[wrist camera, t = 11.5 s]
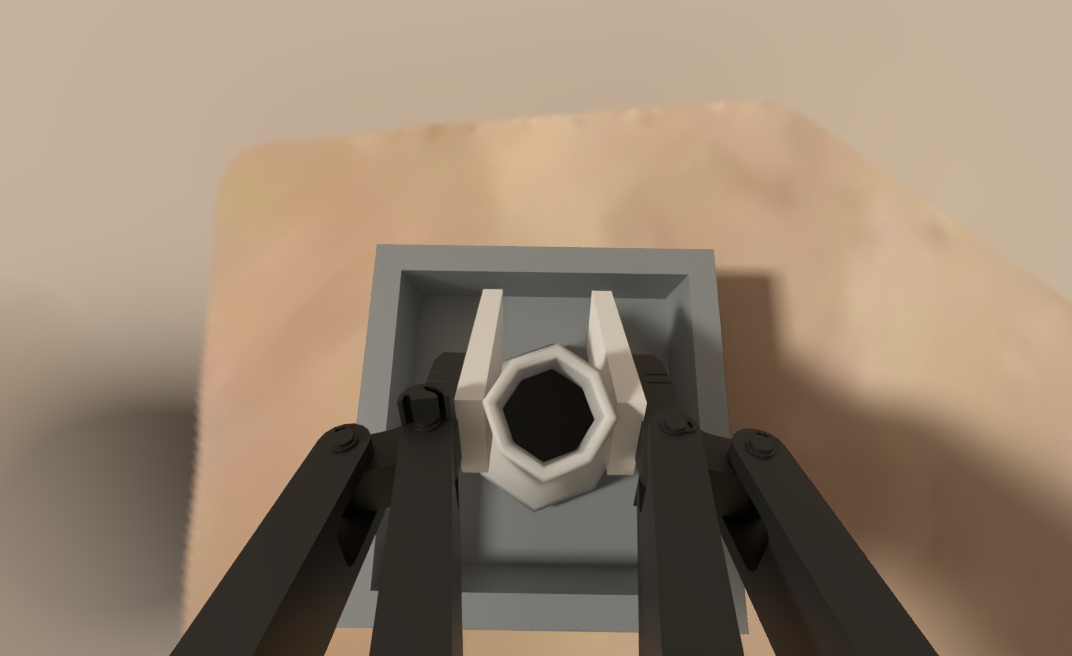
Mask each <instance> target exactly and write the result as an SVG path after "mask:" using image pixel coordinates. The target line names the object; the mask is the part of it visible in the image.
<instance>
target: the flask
mask: <svg viewBox="0 0 1072 656" xmlns="http://www.w3.org/2000/svg"><path fill="white" fill-rule="evenodd" d="M482 403H483V406H484V409H485V412H486V415H487V418H488V421H489V424H490V427H491V430H492V433H493V439H492V447H491V455H490V462H489V470H488V473H480V474H481V475H482V476H483V477H484V478H486V479H487V480H489V481H490V482H491V483H493V484H494V485H496V486H497V487H498V488H500V489H501V490H503V491H504V492H506V493H507V494H508V495H510V496H511V497H513V498H514V499H515V500H517V501H518V502H520V503H521V504H522V505H524V506H525V507H527V508H528V509H530V510H531V511H532V512H536V511H539V510H542V509H544V508H547V507H549V506H552V505H554V504H557V503H560V502H562V501H565V500H567V499H570V498H573V497H575V496H578V495H580V494H583V493H586V492H588V491H591V490H593V489H595V487H596V485H597V483H598V482H599V480H600V478H601V477H602V475H603V473H604V472H605V470H606V464H605V458H604V452H603V445H604V443H605V441H606V440H607V438H608V436H609V435H610V433H611V431H612V430H613V428H614V426H615V425H616V423H617V421H618V420H619V416H618V414H617V411H616V409H615V406H614V404H613V401H612V399H611V396H610V394H609V391H608V389H607V386H606V384H605V381H604V379H603V376H602V374H601V371H600V370H599V369H597V368H596V367H594V366H593V365H591V364H590V363H588V362H586V361H585V360H583V359H582V358H580V357H579V356H577V355H575V354H574V353H572V352H571V351H569V350H568V349H566V348H564V347H563V346H561V345H560V344H558V343H557V344H550V345H547V346H544V347H541V348H538V349H536V350H533V351H530V352H527V353H524V354H521V355H519V356H516V357H513V358H510V359H507V360H504V361H503V363H502V371H501V375H500V376H499V378H498V379H497V381H496V382H495V384H494V385H493V387H492V388H491V390H490V391H489V393H488V394H487V396H486V397H485V398H484V400H483V401H482Z"/></svg>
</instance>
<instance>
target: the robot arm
mask: <svg viewBox="0 0 1072 656" xmlns="http://www.w3.org/2000/svg"><path fill="white" fill-rule="evenodd" d="M587 354H588V360H589V363H590V364H591V365H593V366H594V367H596V368H597V369H599V370H600V371H601V374H602V376H603V379H604V381H605V384H606V386H607V389H608V391H609V394H610V396H611V399H612V401H613V404H614V406H615V409H616V411H617V414H618V416H619V420H618V421H617V423H616V425H615V426H614V428H613V430H612V431H611V433H610V435H609V436H608V438H607V440H606V441H605V443H604V445H603V452H604V458H605V464H606V470H607V475H633V474H634V469H635V464H636V466H637V470H638V474H639V478H638V483H637V488H636V493H635V498H634V504H633V506H637V552H638V620H639V656H744V652H743V647H742V642H741V637H740V632H739V626H738V621H737V616H736V611H735V606H734V601H733V596H732V590H731V585H730V580H729V575H728V570H727V565H726V560H725V554H724V549H723V544H722V539H721V536H722V538H723V541H724V543H725V545H726V547H727V549H728V552H729V554H730V556H731V558H732V560H733V562H734V565H735V567H736V569H737V571H738V573H739V576H740V578H741V580H742V582H743V584H744V587H745V589H746V591H747V593H748V595H749V598H750V600H751V602H752V604H753V606H754V609H755V611H756V613H757V615H758V617H759V620H760V622H761V624H762V626H763V628H764V631H765V633H766V635H767V637H768V639H769V642H770V644H771V646H772V648H773V650H774V653H775V655H776V656H939V655H938V654H937V653H936V651H935V650H934V648H933V647H932V646H931V644H930V643H929V642H928V640H927V639H926V638H925V636H924V635H923V633H922V632H921V631H920V629H919V628H918V627H917V625H916V624H915V623H914V621H913V620H912V618H911V617H910V616H909V614H908V613H907V612H906V610H905V609H904V608H903V606H902V605H901V603H900V602H899V601H898V599H897V598H896V597H895V595H894V594H893V593H892V591H891V590H890V588H889V587H888V586H887V584H886V583H885V582H884V580H883V579H882V578H881V576H880V575H879V573H878V572H877V571H876V569H875V568H874V567H873V565H872V564H871V563H870V561H869V560H868V558H867V557H866V556H865V554H864V553H863V552H862V550H861V549H860V548H859V546H858V545H857V543H856V542H855V541H854V539H853V538H852V537H851V535H850V534H849V533H848V531H847V530H846V528H845V527H844V526H843V524H842V523H841V522H840V520H839V519H838V518H837V516H836V515H835V513H834V512H833V511H832V509H831V508H830V507H829V505H828V504H827V503H826V501H825V500H824V498H823V497H822V496H821V494H820V493H819V492H818V490H817V489H816V488H815V486H814V485H813V483H812V482H811V481H810V479H809V478H808V477H807V475H806V474H805V473H804V471H803V470H802V468H801V467H800V466H799V464H798V463H797V462H796V460H795V459H794V457H793V456H792V455H791V453H790V452H789V451H788V449H787V448H786V447H785V445H784V444H783V443H782V442H781V441H780V440H779V439H777V438H775V437H774V436H772V435H771V434H769V433H766V432H763V431H760V430H757V429H743V430H739V431H738V432H736V433H735V434H734V435H733V438H732V439H728V438H724V437H720V436H716V435H713V434H709V433H706V432H704V431H702V430H700V428H699V426H698V424H697V422H696V421H694V420H693V419H692V418H691V417H690V416H688V415H686V414H684V413H683V410H682V408H681V405H680V403H679V401H678V398H677V396H676V393H675V391H674V388H673V386H672V384H671V381H670V379H669V376H667V372H666V369H665V367H664V364H663V363H662V362H661V361H660V360H659V359H658V358H656V357H655V356H654V355H645V354H631V351H630V348H629V345H628V342H627V339H626V336H625V332H624V329H623V326H622V323H621V320H620V317H619V314H618V310H617V307H616V304H615V301H614V298H613V295H612V291H592V295H591V306H590V318H589V329H588V341H587ZM503 355H504V315H503V289H483V292H482V296H481V299H480V303H479V307H478V311H477V315H476V318H475V322H474V326H473V330H472V334H471V337H470V341H469V345H468V349H467V353H453V352H443V353H442V354H441V355H440V356H439V357H438V358H436V359H435V360H434V361H433V364H432V367H431V370H430V373H429V375H428V378H427V382H426V383H423V384H418V385H414V386H412V387H410V388H408V389H406V390H405V391H404V392H403V393H401V394H400V396H399V398H398V400H397V404H398V409H399V414H400V420H401V426H399V427H397V428H394V429H391V430H388V431H383V432H379V433H374V434H370V432H369V429H367V428H366V427H365V426H363V425H359V424H355V423H353V424H344V425H340V426H337V427H334V428H333V429H331V430H329V431H328V432H326V433H325V434H324V435H323V436H322V437H321V438H320V439H319V440H318V441H317V443H316V444H315V445H314V447H313V448H312V450H311V451H310V453H309V454H308V456H307V457H306V459H305V460H304V461H303V463H302V464H301V466H300V467H299V469H298V470H297V472H296V473H295V474H294V476H293V477H292V479H291V480H290V482H289V483H288V485H287V486H286V488H285V489H284V490H283V492H282V493H281V495H280V496H279V498H278V499H277V501H276V502H275V503H274V505H273V506H272V508H271V509H270V511H269V512H268V514H267V515H266V517H265V518H264V519H263V521H262V522H261V524H260V525H259V527H258V528H257V530H256V531H255V532H254V534H253V535H252V537H251V538H250V540H249V541H248V543H247V544H246V546H245V547H244V548H243V550H242V551H241V553H240V554H239V556H238V557H237V559H236V560H235V561H234V563H233V564H232V566H231V567H230V569H229V570H228V572H227V573H226V575H225V576H224V577H223V579H222V580H221V582H220V583H219V585H218V586H217V588H216V589H215V590H214V592H213V593H212V595H211V596H210V598H209V599H208V601H207V602H206V604H205V605H204V606H203V608H202V609H201V611H200V612H199V614H198V615H197V617H196V618H195V619H194V621H193V622H192V624H191V625H190V627H189V628H188V630H187V631H186V633H185V634H184V635H183V637H182V638H181V640H180V641H179V643H178V644H177V646H176V647H175V648H174V650H173V651H172V653H171V654H170V656H324V654H325V652H326V650H327V647H328V645H329V643H330V640H331V638H332V636H333V633H334V631H335V629H336V626H337V624H338V621H339V619H340V617H341V614H342V612H343V610H344V607H345V605H346V603H347V600H348V598H349V596H350V593H351V591H352V589H353V586H354V584H355V582H356V579H357V577H358V575H359V572H360V570H361V567H362V565H363V563H364V560H365V558H366V556H367V553H368V551H369V549H370V546H371V544H372V542H373V539H374V537H375V535H376V532H377V530H378V528H379V525H380V523H381V521H382V518H383V516H384V513H385V511H386V508H389V507H390V512H389V519H388V526H387V533H386V540H385V547H384V554H383V562H382V569H381V576H380V583H379V590H378V597H377V604H376V611H375V619H374V626H373V633H372V640H371V647H370V654H369V656H463V636H462V584H461V531H460V484H459V476H458V474H459V469H460V464H461V467H462V472H470V473H488V470H489V462H490V455H491V447H492V439H493V433H492V430H491V427H490V424H489V421H488V418H487V415H486V412H485V409H484V406H483V403H482V401H483V400H484V398H485V397H486V396H487V394H488V393H489V391H490V390H491V388H492V387H493V385H494V384H495V382H496V381H497V379H498V378H499V376H500V375H501V371H502V363H503Z"/></svg>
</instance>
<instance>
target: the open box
mask: <svg viewBox="0 0 1072 656" xmlns="http://www.w3.org/2000/svg"><path fill="white" fill-rule="evenodd" d="M483 289H503V315H504V355H503V361H504V360H507V359H510V358H513V357H516V356H519V355H521V354H524V353H527V352H530V351H533V350H536V349H538V348H541V347H544V346H547V345H550V344H557V343H558V344H560V345H561V346H563V347H564V348H566V349H568V350H569V351H571V352H572V353H574V354H575V355H577V356H579V357H580V358H582V359H583V360H585V361H586V362H588V363H589V360H588V354H587V341H588V329H589V318H590V306H591V295H592V291H612V295H613V298H614V301H615V304H616V307H617V310H618V314H619V317H620V320H621V323H622V326H623V329H624V332H625V336H626V339H627V342H628V345H629V348H630V351H631V354H645V355H654V356H655V357H656V358H658V359H659V360H660V361H661V362H662V363H663V364H664V367H665V369H666V372H667V376H669V379H670V381H671V384H672V386H673V388H674V391H675V393H676V396H677V398H678V401H679V403H680V405H681V408H682V410H683V413H684V414H686V415H688V416H690V417H691V418H692V419H693V420H694V421H696V422H697V424H698V426H699V428H700V430H702V431H704V432H706V433H709V434H713V435H716V436H720V437H724V438H728V439H731V434H730V423H729V412H728V401H727V390H726V379H725V368H724V357H723V346H722V335H721V324H720V313H719V302H718V291H717V280H716V269H715V258H714V250H709V249H645V248H581V247H517V246H453V245H390V244H377V248H376V257H375V266H374V275H373V283H372V292H371V301H370V310H369V319H368V328H367V336H366V345H365V354H364V363H363V372H362V380H361V389H360V398H359V407H358V416H357V424H359V425H363V426H365V427H366V428H367V429H369V432H370V434H374V433H379V432H383V431H388V430H391V429H394V428H397V427H399V426H401V420H400V414H399V409H398V404H397V400H398V398H399V396H400V394H401V393H403V392H404V391H405V390H406V389H408V388H410V387H412V386H414V385H418V384H423V383H426V382H427V378H428V375H429V373H430V370H431V367H432V364H433V361H434V360H435V359H436V358H438V357H439V356H440V355H441V354H442V353H443V352H453V353H467V349H468V345H469V341H470V337H471V334H472V330H473V326H474V322H475V318H476V315H477V311H478V307H479V303H480V299H481V296H482V292H483ZM458 476H459V484H460V531H461V584H462V630H517V631H578V632H639V620H638V552H637V506H633V504H634V498H635V493H636V488H637V483H638V478H639V474H638V470H637V466H636V464H635V469H634V474H633V475H607V470H605V472H604V473H603V475H602V477H601V478H600V480H599V482H598V483H597V485H596V487H595V489H593V490H591V491H588V492H586V493H583V494H580V495H578V496H575V497H573V498H570V499H567V500H565V501H562V502H560V503H557V504H554V505H552V506H549V507H547V508H544V509H542V510H539V511H536V512H532V511H531V510H530V509H528V508H527V507H525V506H524V505H522V504H521V503H520V502H518V501H517V500H515V499H514V498H513V497H511V496H510V495H508V494H507V493H506V492H504V491H503V490H501V489H500V488H498V487H497V486H496V485H494V484H493V483H491V482H490V481H489V480H487V479H486V478H484V477H483V476H482V475H481V474H480V473H470V472H462V467H461V464H460V469H459V474H458ZM389 512H390V507H389V508H386V511H385V513H384V516H383V518H382V521H381V523H380V525H379V528H378V530H377V532H376V535H375V537H374V539H373V542H372V544H371V546H370V549H369V551H368V553H367V556H366V558H365V560H364V563H363V565H362V567H361V570H360V572H359V575H358V577H357V579H356V582H355V584H354V586H353V589H352V591H351V593H350V596H349V598H348V600H347V603H346V605H345V607H344V610H343V612H342V614H341V617H340V619H339V621H338V624H337V626H336V628H373V626H374V619H375V611H376V604H377V597H378V590H379V583H380V576H381V569H382V562H383V554H384V547H385V540H386V533H387V526H388V519H389ZM721 539H722V544H723V549H724V554H725V560H726V565H727V570H728V575H729V580H730V585H731V590H732V596H733V601H734V606H735V611H736V616H737V621H738V626H739V632H740V634H749V633H748V622H747V611H746V600H745V589H744V584H743V582H742V580H741V578H740V576H739V573H738V571H737V569H736V567H735V565H734V562H733V560H732V558H731V556H730V554H729V552H728V549H727V547H726V545H725V543H724V541H723V538H722V536H721Z"/></svg>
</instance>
